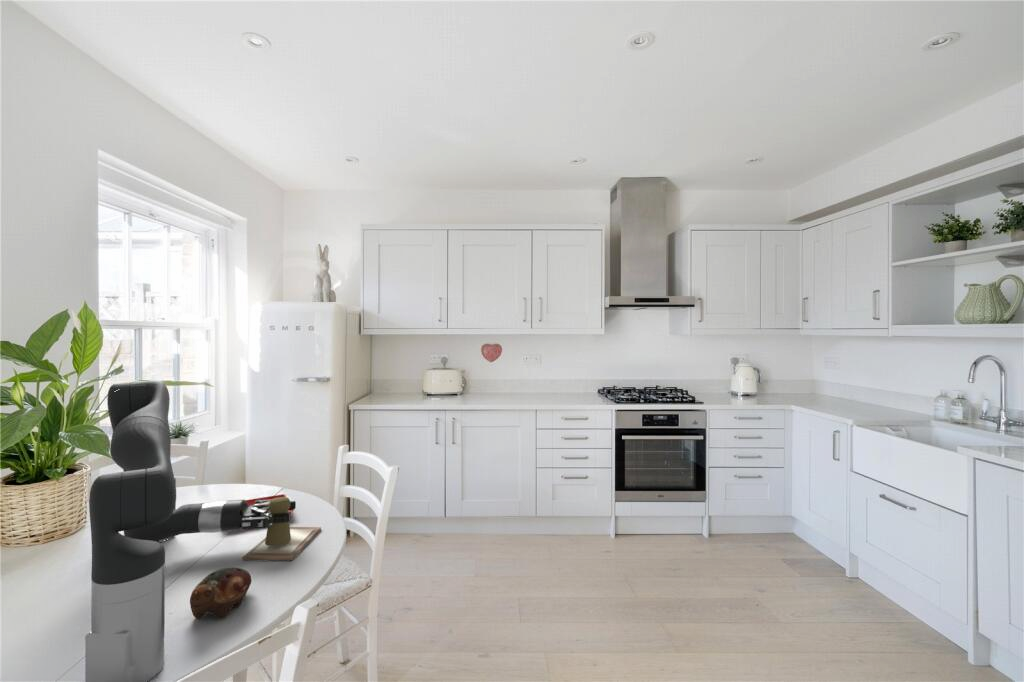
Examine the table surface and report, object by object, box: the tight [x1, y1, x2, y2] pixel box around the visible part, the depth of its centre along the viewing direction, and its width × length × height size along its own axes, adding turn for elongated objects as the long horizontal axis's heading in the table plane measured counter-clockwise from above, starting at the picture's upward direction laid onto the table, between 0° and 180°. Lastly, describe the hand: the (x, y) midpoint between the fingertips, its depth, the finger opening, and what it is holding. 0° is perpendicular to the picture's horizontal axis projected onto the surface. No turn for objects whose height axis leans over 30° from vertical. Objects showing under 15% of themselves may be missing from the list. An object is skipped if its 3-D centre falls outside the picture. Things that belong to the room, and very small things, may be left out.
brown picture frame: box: [242, 526, 322, 561], centre depth 122 cm, size 18×12×1 cm, turn 1°
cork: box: [265, 496, 291, 546], centre depth 120 cm, size 6×6×11 cm
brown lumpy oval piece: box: [189, 566, 252, 620], centre depth 93 cm, size 10×15×8 cm, turn 1°
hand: (292, 511), depth 123 cm, fingers open, 8 cm apart
